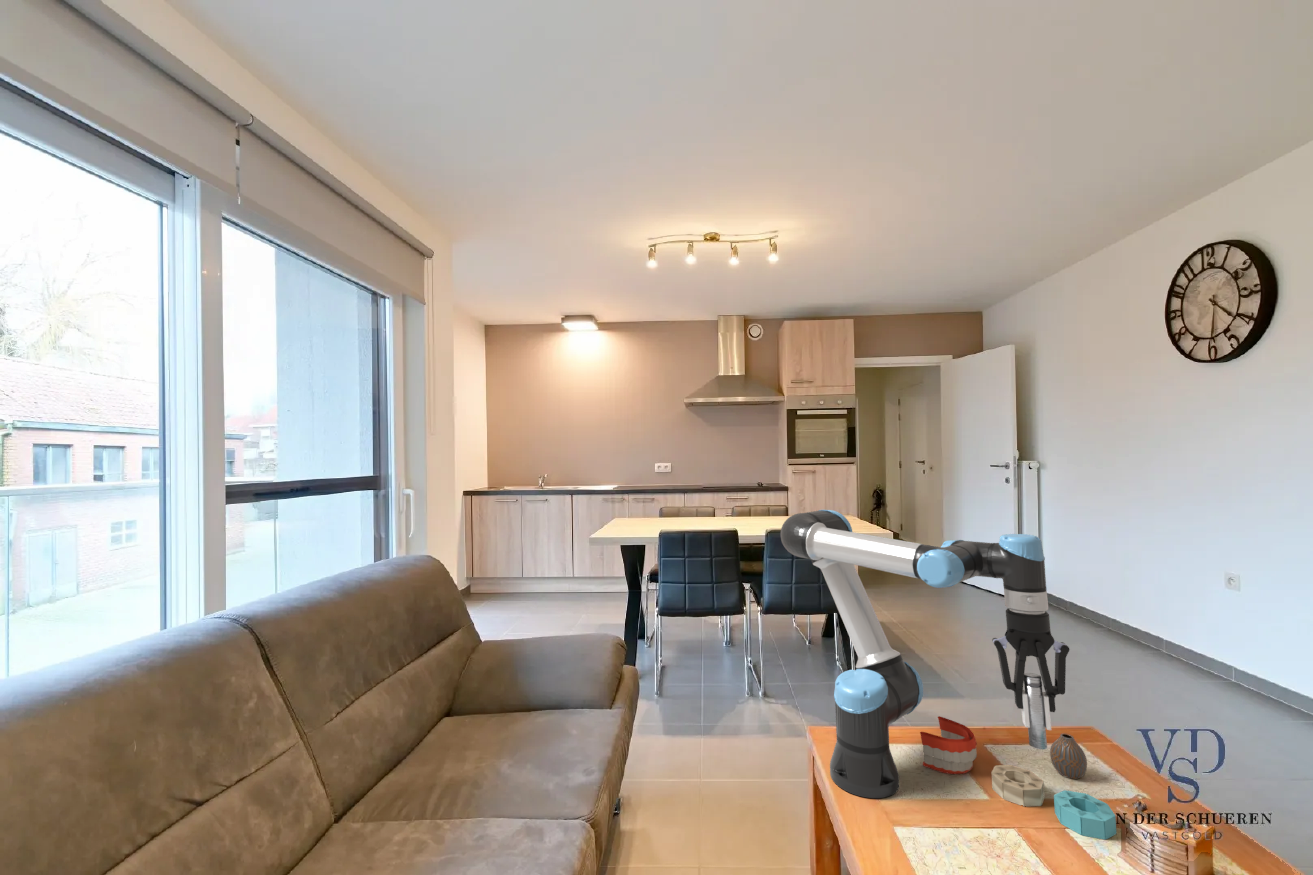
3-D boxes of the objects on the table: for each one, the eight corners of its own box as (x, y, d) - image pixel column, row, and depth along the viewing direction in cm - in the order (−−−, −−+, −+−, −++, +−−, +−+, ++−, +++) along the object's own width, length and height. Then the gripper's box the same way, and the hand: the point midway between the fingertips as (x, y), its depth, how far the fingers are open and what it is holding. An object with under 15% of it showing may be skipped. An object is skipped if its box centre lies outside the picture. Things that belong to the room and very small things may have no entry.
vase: (1094, 783, 123) (1092, 744, 123) (1060, 781, 124) (1058, 742, 125) (1077, 766, 130) (1075, 729, 130) (1045, 764, 131) (1043, 727, 131)
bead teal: (1065, 832, 108) (1064, 814, 108) (1050, 804, 116) (1049, 787, 116) (1122, 842, 104) (1121, 824, 105) (1102, 813, 113) (1101, 795, 113)
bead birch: (1011, 806, 116) (1011, 790, 116) (984, 781, 125) (983, 765, 125) (1053, 805, 116) (1053, 788, 116) (1023, 779, 125) (1022, 764, 125)
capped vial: (1031, 747, 110) (1025, 677, 111) (1027, 740, 113) (1021, 672, 114) (1049, 750, 109) (1043, 679, 110) (1045, 742, 112) (1039, 673, 113)
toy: (967, 784, 124) (965, 749, 124) (920, 766, 132) (918, 732, 132) (985, 763, 132) (983, 729, 133) (940, 747, 140) (938, 715, 140)
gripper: (985, 612, 113) (994, 728, 111) (1079, 616, 107) (1090, 740, 105) (979, 603, 120) (988, 712, 118) (1067, 607, 113) (1078, 722, 112)
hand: (1036, 725), depth 112 cm, fingers closed on capped vial, 3 cm apart
